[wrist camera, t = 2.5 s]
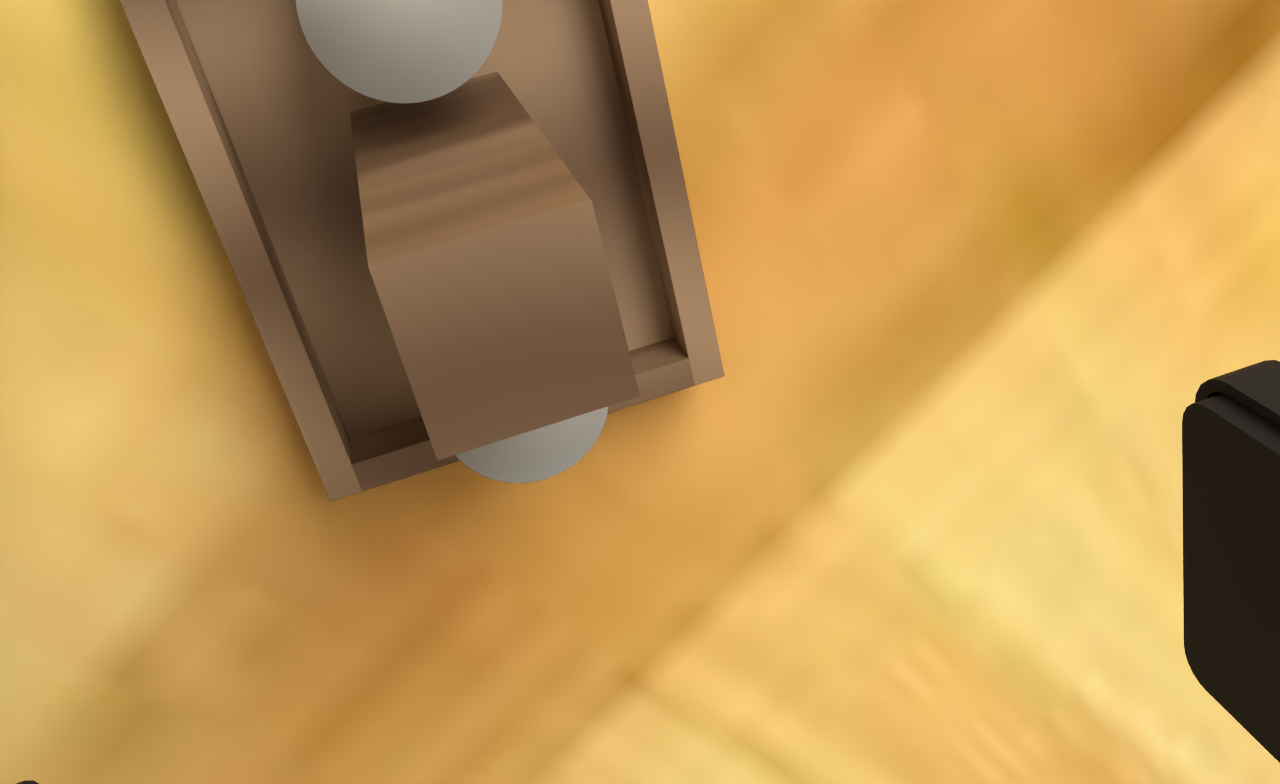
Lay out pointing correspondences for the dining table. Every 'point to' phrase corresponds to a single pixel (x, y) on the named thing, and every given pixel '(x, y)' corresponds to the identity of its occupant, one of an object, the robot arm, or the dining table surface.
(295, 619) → the dining table surface
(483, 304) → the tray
